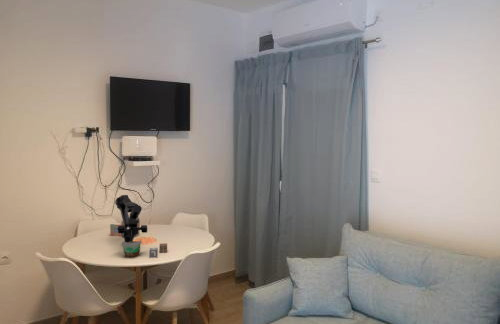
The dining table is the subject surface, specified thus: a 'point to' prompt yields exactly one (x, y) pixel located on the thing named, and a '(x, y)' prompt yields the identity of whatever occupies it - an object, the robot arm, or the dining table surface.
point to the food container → (131, 248)
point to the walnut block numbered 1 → (163, 248)
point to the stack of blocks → (115, 229)
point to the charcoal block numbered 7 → (153, 252)
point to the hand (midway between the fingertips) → (131, 240)
